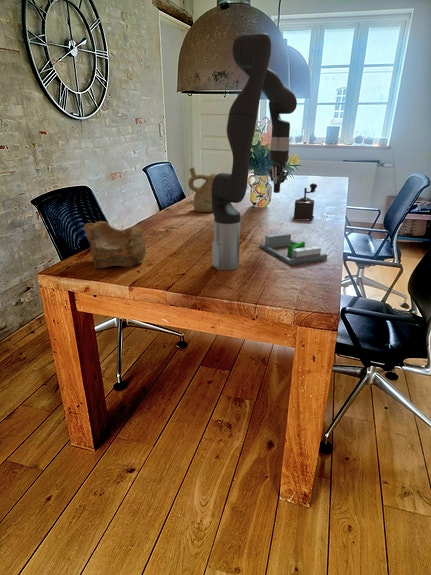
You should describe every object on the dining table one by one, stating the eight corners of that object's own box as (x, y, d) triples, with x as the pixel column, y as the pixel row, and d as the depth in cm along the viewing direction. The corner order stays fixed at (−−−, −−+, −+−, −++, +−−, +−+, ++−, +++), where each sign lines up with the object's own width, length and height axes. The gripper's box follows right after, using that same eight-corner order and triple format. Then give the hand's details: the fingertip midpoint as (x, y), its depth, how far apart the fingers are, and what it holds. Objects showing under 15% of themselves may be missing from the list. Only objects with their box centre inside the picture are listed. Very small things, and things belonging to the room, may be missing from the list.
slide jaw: (268, 248, 160) (268, 237, 158) (264, 246, 163) (265, 235, 161) (290, 245, 164) (291, 234, 162) (286, 243, 167) (287, 232, 165)
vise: (292, 265, 141) (293, 253, 139) (259, 247, 162) (260, 235, 160) (326, 260, 147) (328, 248, 145) (291, 243, 168) (292, 232, 166)
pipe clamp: (295, 250, 159) (296, 240, 157) (303, 252, 157) (305, 241, 155) (284, 257, 150) (285, 246, 149) (292, 259, 148) (293, 248, 147)
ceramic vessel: (224, 212, 222) (225, 168, 212) (191, 214, 218) (190, 169, 208) (217, 207, 238) (217, 165, 227) (186, 208, 233) (185, 166, 223)
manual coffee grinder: (313, 220, 206) (317, 187, 199) (293, 219, 209) (296, 186, 201) (313, 214, 220) (317, 182, 213) (294, 213, 222) (297, 182, 215)
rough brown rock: (71, 271, 137) (64, 232, 130) (94, 253, 151) (89, 217, 144) (131, 279, 133) (127, 239, 125) (149, 260, 147) (146, 223, 140)
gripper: (263, 148, 157) (261, 190, 164) (279, 150, 146) (276, 195, 153) (279, 147, 160) (276, 189, 167) (296, 150, 148) (292, 194, 155)
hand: (276, 192), depth 160 cm, fingers closed
